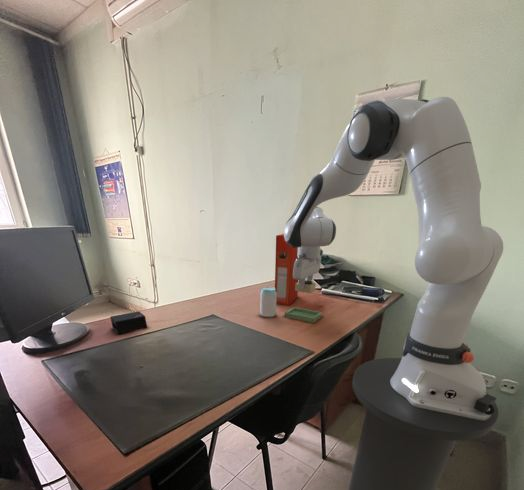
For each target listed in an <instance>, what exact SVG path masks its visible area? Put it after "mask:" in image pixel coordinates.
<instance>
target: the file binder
mask: <svg viewBox="0 0 524 490" xmlns="http://www.w3.org/2000/svg"><path fill="white" fill-rule="evenodd" d="M297 251H298V248H292V247H291V246H289V245H288V244H287V243H286V241H285V239H284V233H281V234H277V235H275V261H274V262H275V264H274V265H275V266H274V267H275V268H274V288H275V291H276V292H277V299H276V305H280V306H281V305H282V306H290V305H291V304H292V303H293V302H294V301H295V300H296V299H297V297H298V295H299V294H298V293H299V291H295V285H296V283H298V282H299V280H295V279H293V269H294V263H295V260H296V259H297V258H298V257H297Z"/></svg>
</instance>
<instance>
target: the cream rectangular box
mask: <svg viewBox="0 0 524 490" xmlns="http://www.w3.org/2000/svg"><path fill="white" fill-rule="evenodd" d="M316 286H317V285H316V282H314V281H307V280H305V288H304V289H301V288H300V282H299V281H298V283H296V285H295V291H298V293H299V292H300V293H306V294H312V293H314V292H315V291H316Z"/></svg>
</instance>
